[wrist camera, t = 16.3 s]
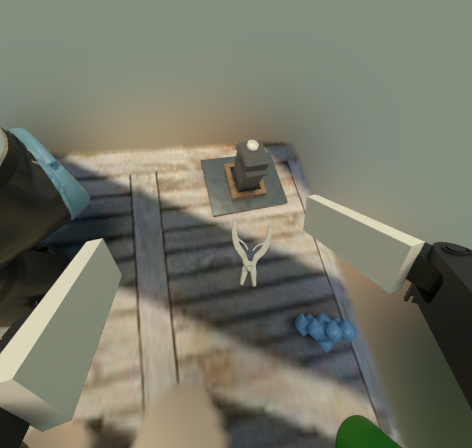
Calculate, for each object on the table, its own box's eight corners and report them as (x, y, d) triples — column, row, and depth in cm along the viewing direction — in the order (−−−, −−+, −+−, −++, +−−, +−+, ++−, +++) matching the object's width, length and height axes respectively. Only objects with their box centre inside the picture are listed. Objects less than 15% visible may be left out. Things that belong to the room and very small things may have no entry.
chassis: (213, 216, 44) (213, 213, 42) (200, 162, 49) (200, 156, 46) (286, 203, 49) (290, 199, 46) (268, 154, 53) (271, 148, 51)
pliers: (272, 224, 45) (269, 288, 40) (270, 226, 46) (267, 288, 41) (234, 218, 44) (225, 282, 39) (233, 220, 45) (225, 282, 40)
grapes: (282, 342, 38) (314, 366, 27) (282, 307, 40) (311, 315, 29) (333, 343, 39) (383, 367, 28) (330, 309, 42) (375, 319, 30)
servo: (239, 196, 46) (249, 169, 35) (231, 169, 48) (238, 135, 37) (257, 193, 47) (272, 166, 36) (248, 166, 50) (260, 133, 38)
